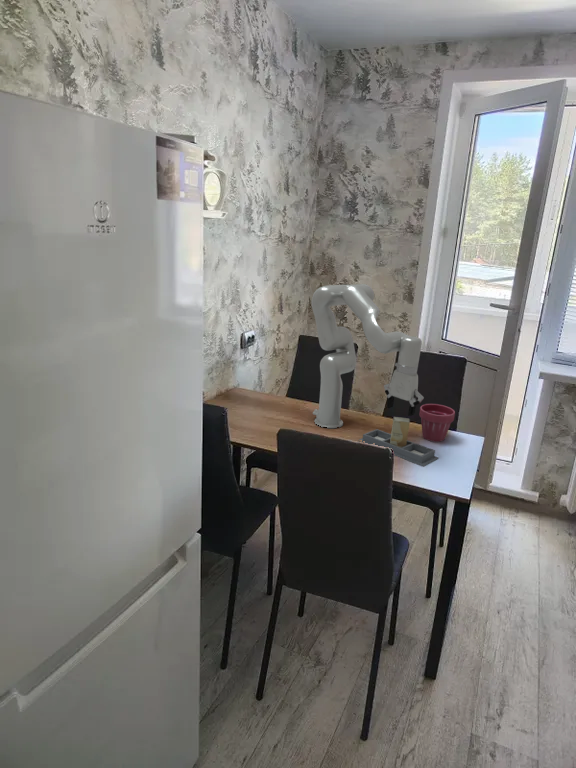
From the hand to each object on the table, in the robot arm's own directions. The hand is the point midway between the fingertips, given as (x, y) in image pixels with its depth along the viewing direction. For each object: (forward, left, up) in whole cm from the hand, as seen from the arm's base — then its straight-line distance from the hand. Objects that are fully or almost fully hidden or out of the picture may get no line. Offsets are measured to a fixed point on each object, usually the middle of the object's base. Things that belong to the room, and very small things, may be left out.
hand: (400, 411), depth 201 cm
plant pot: (+3, +24, -16) cm, 29 cm away
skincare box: (+1, 0, -15) cm, 15 cm away
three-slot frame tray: (+1, 0, -16) cm, 16 cm away
